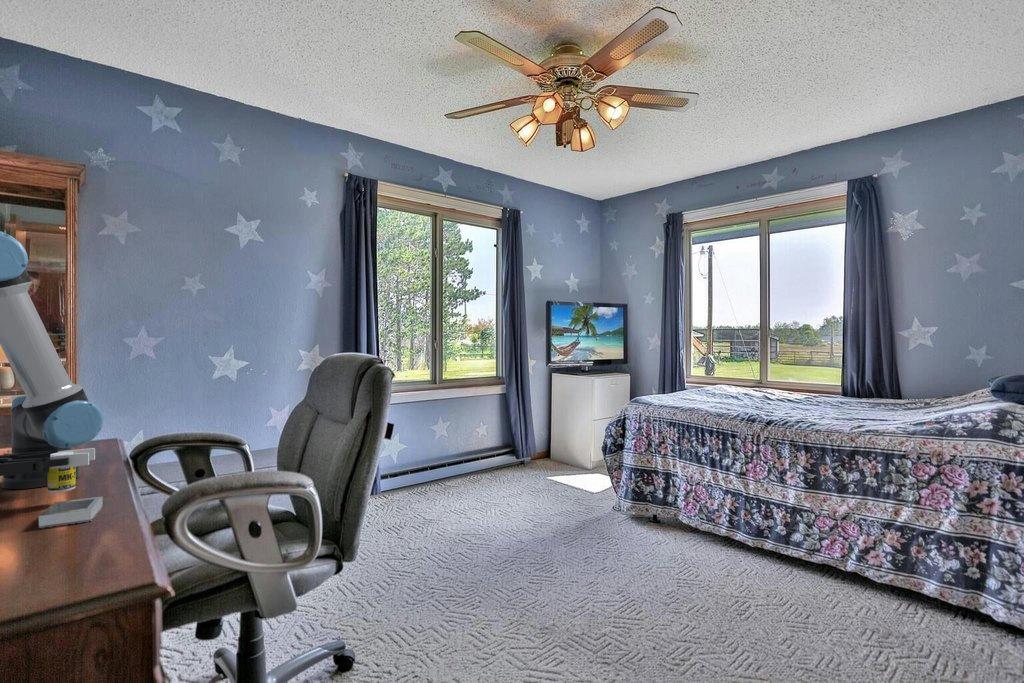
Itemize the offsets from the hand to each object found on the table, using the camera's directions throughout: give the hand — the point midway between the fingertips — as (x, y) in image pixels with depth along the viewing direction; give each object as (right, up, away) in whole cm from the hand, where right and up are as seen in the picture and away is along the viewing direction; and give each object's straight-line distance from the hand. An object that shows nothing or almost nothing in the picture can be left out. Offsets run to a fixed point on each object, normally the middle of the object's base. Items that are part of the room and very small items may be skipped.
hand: (91, 456), depth 116 cm
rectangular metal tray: (+6, -10, -12) cm, 16 cm away
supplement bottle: (-5, -7, -2) cm, 9 cm away
